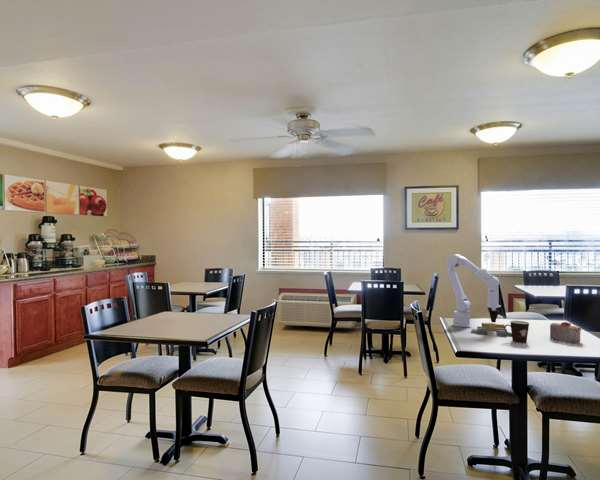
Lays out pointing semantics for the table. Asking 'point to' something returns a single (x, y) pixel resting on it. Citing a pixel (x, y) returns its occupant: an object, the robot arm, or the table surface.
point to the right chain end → (502, 332)
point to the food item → (565, 332)
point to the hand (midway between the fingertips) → (493, 320)
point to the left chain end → (480, 330)
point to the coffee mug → (518, 331)
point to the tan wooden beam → (492, 326)
